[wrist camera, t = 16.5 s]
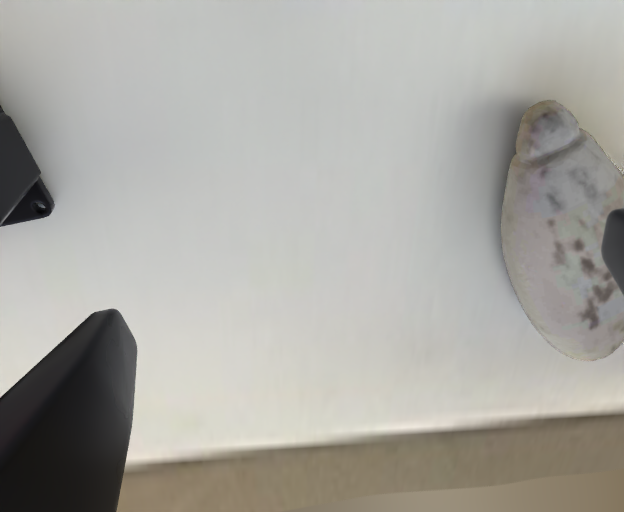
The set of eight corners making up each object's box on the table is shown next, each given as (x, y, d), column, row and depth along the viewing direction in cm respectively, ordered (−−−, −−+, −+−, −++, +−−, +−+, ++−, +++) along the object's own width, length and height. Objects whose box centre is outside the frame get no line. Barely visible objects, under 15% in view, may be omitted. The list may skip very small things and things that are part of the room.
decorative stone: (592, 60, 20) (644, 85, 17) (635, 307, 29) (675, 350, 26) (450, 131, 22) (479, 165, 19) (531, 348, 30) (559, 393, 27)
